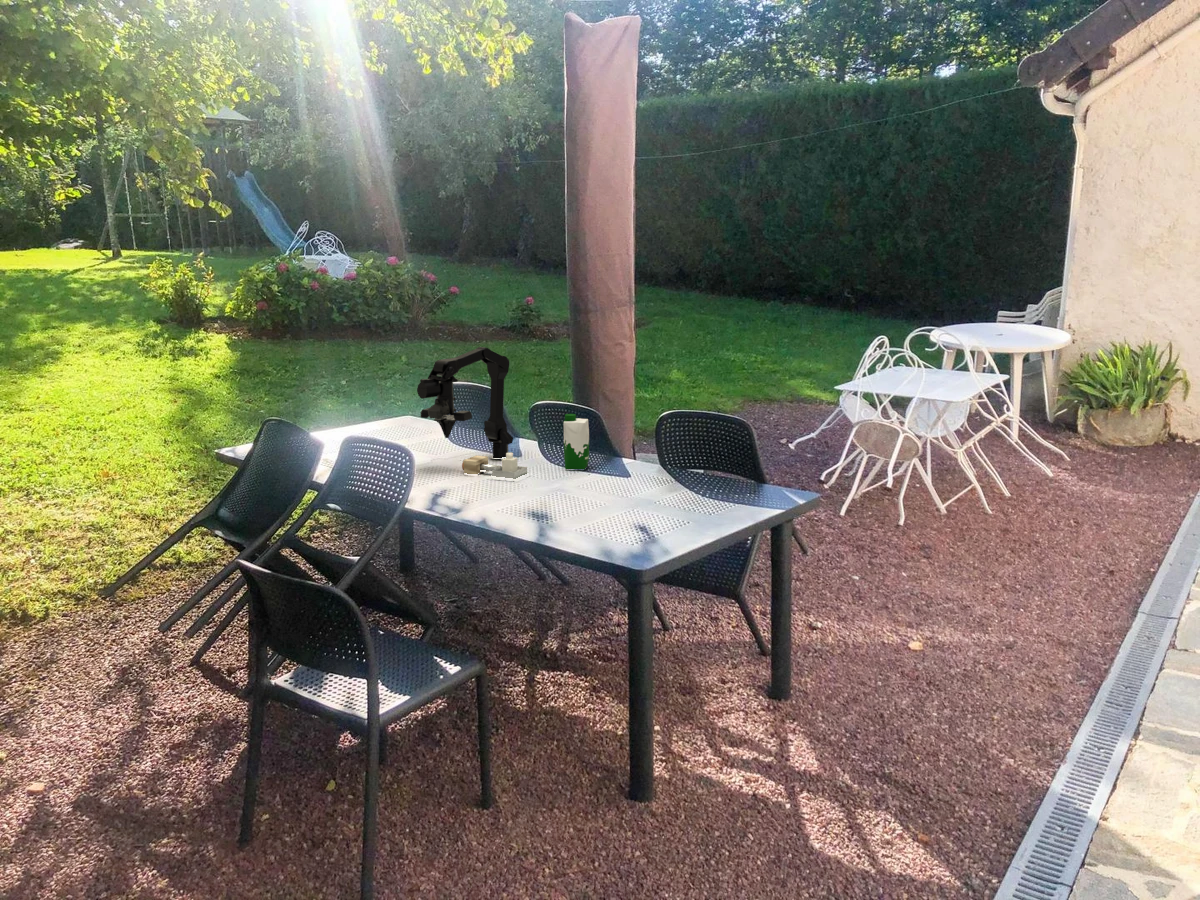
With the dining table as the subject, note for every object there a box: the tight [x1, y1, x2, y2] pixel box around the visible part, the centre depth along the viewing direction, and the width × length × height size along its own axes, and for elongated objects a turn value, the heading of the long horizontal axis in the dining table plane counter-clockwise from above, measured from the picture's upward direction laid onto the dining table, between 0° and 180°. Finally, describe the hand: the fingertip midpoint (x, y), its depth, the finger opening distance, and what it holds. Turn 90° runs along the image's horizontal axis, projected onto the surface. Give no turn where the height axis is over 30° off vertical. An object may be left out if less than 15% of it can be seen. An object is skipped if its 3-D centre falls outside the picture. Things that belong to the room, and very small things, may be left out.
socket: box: [491, 465, 528, 479], centre depth 336 cm, size 12×12×3 cm
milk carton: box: [563, 413, 590, 470], centre depth 346 cm, size 9×9×20 cm
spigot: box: [501, 451, 519, 472], centre depth 336 cm, size 4×4×8 cm
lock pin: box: [461, 458, 502, 472], centre depth 341 cm, size 4×15×4 cm, turn 65°
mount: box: [462, 455, 489, 474], centre depth 342 cm, size 9×5×5 cm, turn 155°
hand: (447, 437), depth 345 cm, fingers closed
